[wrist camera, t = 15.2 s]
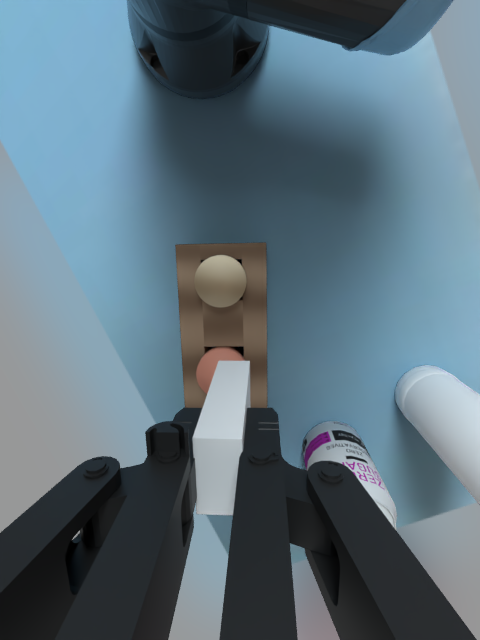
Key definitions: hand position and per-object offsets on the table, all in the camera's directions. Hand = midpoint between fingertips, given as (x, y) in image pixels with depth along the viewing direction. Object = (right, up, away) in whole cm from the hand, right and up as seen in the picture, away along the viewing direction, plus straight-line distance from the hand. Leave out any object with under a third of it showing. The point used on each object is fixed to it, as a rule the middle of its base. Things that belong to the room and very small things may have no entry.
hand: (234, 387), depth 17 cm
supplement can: (+13, -14, +33) cm, 39 cm away
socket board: (-1, -1, +31) cm, 31 cm away
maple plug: (-2, +9, +28) cm, 29 cm away
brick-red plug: (-1, -1, +28) cm, 28 cm away
